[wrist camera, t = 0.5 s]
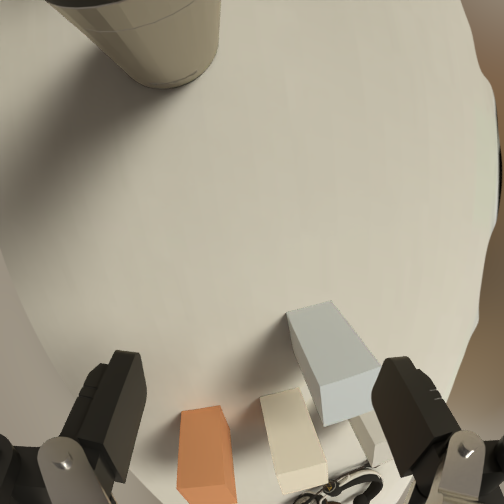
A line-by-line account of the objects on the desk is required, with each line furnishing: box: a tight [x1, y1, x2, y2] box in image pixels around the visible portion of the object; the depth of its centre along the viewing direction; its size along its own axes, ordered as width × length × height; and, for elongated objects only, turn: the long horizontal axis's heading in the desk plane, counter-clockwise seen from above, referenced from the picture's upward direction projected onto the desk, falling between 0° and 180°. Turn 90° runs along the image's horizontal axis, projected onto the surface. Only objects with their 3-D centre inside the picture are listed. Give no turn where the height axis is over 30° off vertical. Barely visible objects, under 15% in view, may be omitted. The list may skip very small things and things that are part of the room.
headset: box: [293, 462, 384, 504], centre depth 43 cm, size 17×8×20 cm
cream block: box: [260, 387, 328, 495], centre depth 31 cm, size 5×5×12 cm
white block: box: [286, 301, 382, 427], centre depth 27 cm, size 5×5×12 cm
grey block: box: [348, 410, 394, 468], centre depth 31 cm, size 5×5×12 cm
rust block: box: [176, 405, 237, 504], centre depth 30 cm, size 5×5×12 cm
